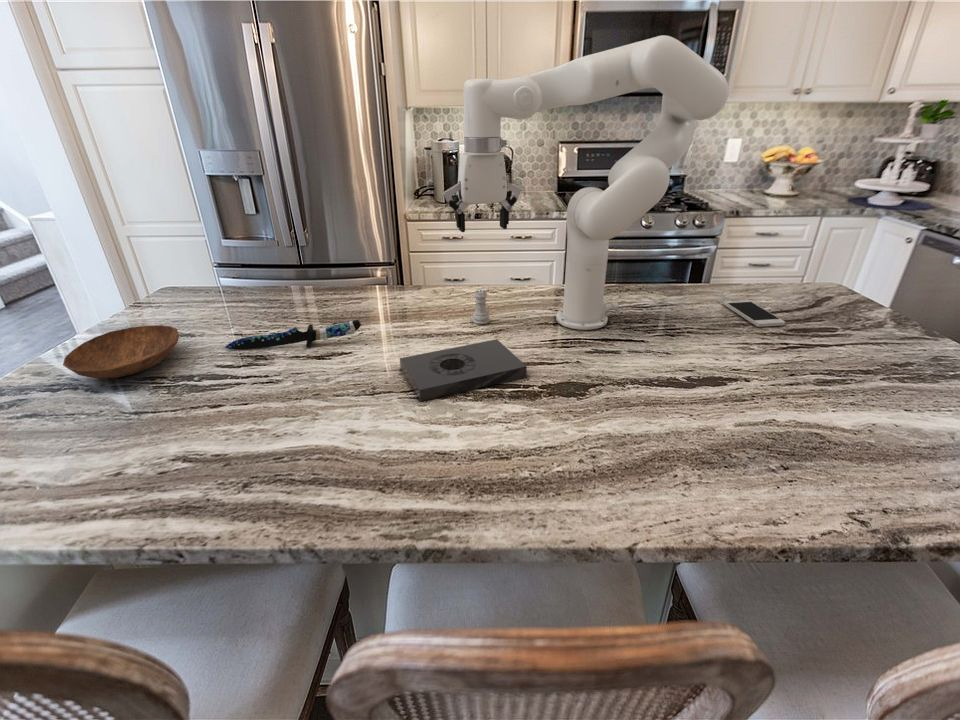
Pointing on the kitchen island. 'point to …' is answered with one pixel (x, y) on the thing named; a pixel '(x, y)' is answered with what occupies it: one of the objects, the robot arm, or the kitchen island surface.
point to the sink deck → (461, 369)
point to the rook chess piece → (480, 308)
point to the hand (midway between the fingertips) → (482, 229)
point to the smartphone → (754, 313)
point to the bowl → (122, 351)
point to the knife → (295, 336)
